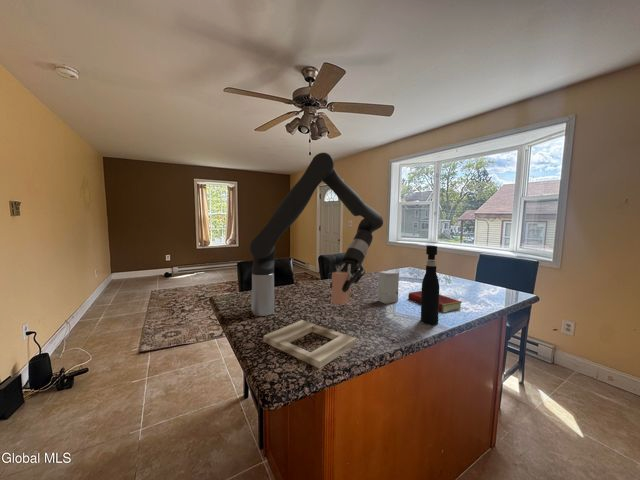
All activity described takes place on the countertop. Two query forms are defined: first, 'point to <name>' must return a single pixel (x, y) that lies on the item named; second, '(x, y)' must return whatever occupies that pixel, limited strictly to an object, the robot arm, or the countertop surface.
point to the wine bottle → (430, 290)
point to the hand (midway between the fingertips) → (337, 289)
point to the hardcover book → (444, 301)
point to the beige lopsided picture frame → (319, 355)
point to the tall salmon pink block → (339, 288)
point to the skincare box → (388, 287)
